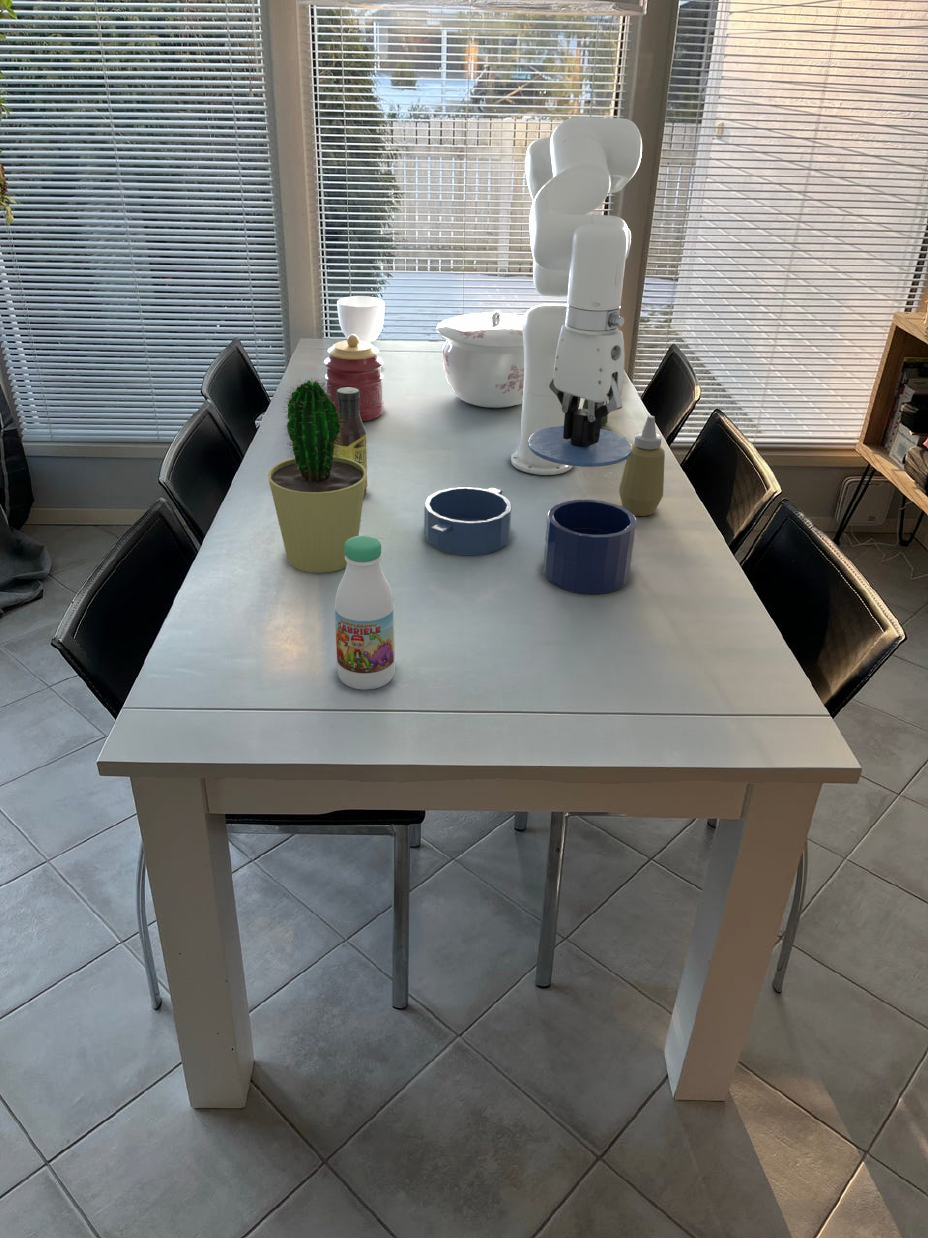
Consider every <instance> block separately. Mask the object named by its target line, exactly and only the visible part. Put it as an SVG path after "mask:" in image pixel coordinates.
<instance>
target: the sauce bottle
mask: <svg viewBox="0 0 928 1238" xmlns="http://www.w3.org/2000/svg"><path fill="white" fill-rule="evenodd" d="M359 398H360V394H359V390H358V389H356V388H352V387H346V388H340V389H338V390H337V399H338V414H340V413H341V414H340V416H341V417H340V416H338V418H339V423H340V424H341V425H340V427H343V426H346V427H343V428H340V430H341V433H340V432H339V433H338V434H337V436H340V437H337V438H336V439H338V438H339V439H338V440H335V441H334V447H336V446H337V445H338V446H337V447H336V448H338V449H335V448H334V451H335V452H334V455H335V454H336V455H337V456H339V457H344V458H348V459H351V460H354V461H356V462H358V463H360V464H361V465H363V466H364V467H365V468H366V471H367V472H368V445H367V444H368V443H367V441H368V440H367V431H366V428H365V426H364V423H363V422H364V421H362V420H361V417H360V414H359V413H360V411H359ZM339 410H340V411H339ZM341 419H343V420H341ZM345 420H347V421H345ZM342 423H344V424H343V425H342ZM342 432H343V433H342ZM340 434H341V435H340ZM342 442H343V443H342ZM335 444H337V445H335ZM339 445H340V446H339ZM336 450H338V451H336ZM334 455H333V456H334ZM336 455H335V456H336ZM367 487H368V475H367V476H366V479H365V489H364V497H365V496H366V495H367V489H368V488H367Z"/></svg>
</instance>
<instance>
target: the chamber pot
mask: <svg viewBox="0 0 928 1238" xmlns="http://www.w3.org/2000/svg"><path fill="white" fill-rule="evenodd" d="M524 316H525V315H519V314H518V315H517V314H509V313H501V311H499V310H495V311H493V312H482V313H481V312H480V313H469V314H461V315H458V316H457V315H456V316H452V317H449V318H446V319H444V320H442V321H441V322H439V323H438V324H437V325H436V329H435V331H436V332H437V333H438V334H439V335H440V336H441V337H442V338H443V339H446V340H445V341H444V343H443V345H442V351H441V353H442V354H441V355H442V356H441V357H442V359H441V360H442V361H441V363H442V368H443V374H444V378H445V380H446V382H447V383H448V385H449V386H450V389H451V390H452V392H453V393H454V394H455V396H456V397H457V398H458V399H459V400H461V401H462V402H465V403H467V404H469V405H473V406H475V407H480V408H487V409H504V408H505V409H506V408H510V407H515V406H519V405H522V401H523V385H524V345H523V333H522V325H523V318H524Z"/></svg>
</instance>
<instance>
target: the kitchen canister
mask: <svg viewBox="0 0 928 1238" xmlns="http://www.w3.org/2000/svg"><path fill="white" fill-rule="evenodd" d="M326 353H327V354H328V356H327V357H326V358H325V359H324V361H323V363H324V366H325V367H326V373H325V375H324V379H325V387H327V388H328V389H327V390H326V389H325V390H326V391H325V392H326V393H327V392H328V393H327V394H326V395H328V396H329V393H330V395H331V394H332V393H333V394H332V395H331V396H330V397H329V398H331V397H332V398H331V399H330V400H331V401H332V403H334V406H335V404H336V406H335V407H336V408H337V411H336V412H337V413H338V399H337V390H338V389H340V388H346V387H352V388H356V389H358V390H359V394H360V398H359V411H360V413H359V414H360V417H361V420H362V422H366V421H371V420H375V419H377V418H379V417H381V416H382V414H383V411H384V404H385V403H384V398H383V397H384V395H383V394H384V393H383V389H384V387H383V379H384V374H383V373H382V368H381V367H383V364H384V361H383V359H382V358H381V357H380V356H378V355H379V353H380V350H379V348H377V347H376V346H374V345H373V344H372V343H371V342H370V343H368V342H365V341H359V338H358V337H357V336H356V335H350V336H348V338H346V340H342V341H341V340H340V341H337V342H336V343H334V344H333V345H332V346H330V347H328V349H327V352H326ZM334 401H335V402H334ZM338 415H339V414H338Z"/></svg>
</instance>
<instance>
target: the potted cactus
mask: <svg viewBox="0 0 928 1238" xmlns="http://www.w3.org/2000/svg"><path fill="white" fill-rule="evenodd" d="M310 379H311V380H310ZM310 379H309V380H305V381H304V382H303V383H302V382H301V380H300V379H298V380H296V382H297V383H298V385H296V388H295V387H292V388H291V389H289V391H287V390H286V392H287V393H289V392H290V393H289V394H288V397H285V396H284V397H285V398H284V399H286V400H287V401H285V400H284V402H285V403H286V404H285V403H284V405H286V406H287V409H284V408H283V410H284V411H283V412H282V414H283V413H285V414H286V416H285V419H287V420H288V421H284V423H285V422H286V424H285V428H284V431H286V432H285V433H284V435H282V436H283V437H284V436H285V437H289V440H290V442H287V443H286V444H287V446H288V445H289V446H288V450H291V449H292V451H291V456H293V458H289V457H290V455H289V456H288V455H287V458H289V459H286V460H283V461H280V462H279V463H277V464H275V465H274V466H273V467H271V468H270V470H269V471H268V473H267V478H268V482H269V487H270V492H271V496H272V500H273V504H274V508H275V512H276V516H277V521H278V525H279V529H280V534H281V538H282V542H283V547H284V551H285V554H286V558H287V559H286V560H287V561H288V563H289V564H290V565H291V566H292V567H293V568H295V569H296V570H300V571H303V572H306V573H307V572H308V573H317V574H319V573H320V574H321V573H332V572H336V571H340V570H343V569H346V566H347V561H346V560H345V550H344V546H345V542H346V541H347V540H348V539H350V538H352V537H355V536H360V529H361V519H362V511H363V506H364V505H363V504H364V497H365V496H364V489H365V479H366V476H367V477H368V470H367V471H366V468H365V467H364V466H363V465H361V464H360V463H358V462H356V461H354V460H351V459H348V458H344V457H339V456H337V455H336V454H335V455H336V456H335V455H334V452H335V451H334V448H335V449H338V448H336V447H337V446H338V445H337V444H335V445H337V446H336V447H334V441H335V440H338V439H339V438H338V439H336V438H337V437H340V436H337V434H338V433H339V432H340V433H341V430H340V428H343V427H346V426H343V427H340V425H341V424H340V423H339V418H338V416H340V414H341V413H340V414H339V415H338V413H337V412H336V411H337V408H336V407H335V406H336V404H335V406H334V403H332V401H331V400H330V399H331V398H332V397H331V398H329V397H330V396H331V395H332V394H333V393H332V394H331V395H330V393H329V396H328V395H326V394H327V393H328V392H327V393H326V390H327V389H328V388H327V387H326V386H325V383H322V382H319V381H321V379H320V380H319V378H318V380H317V379H315V380H313V378H310ZM324 386H325V387H324ZM334 402H335V401H334ZM339 411H340V410H339ZM340 417H341V416H340ZM341 420H343V419H341ZM345 421H347V420H345ZM343 424H344V423H342V425H343ZM342 433H343V432H342ZM340 435H341V434H340ZM342 443H343V442H342ZM339 446H340V445H339ZM336 451H338V450H336ZM333 455H334V456H333Z"/></svg>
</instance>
